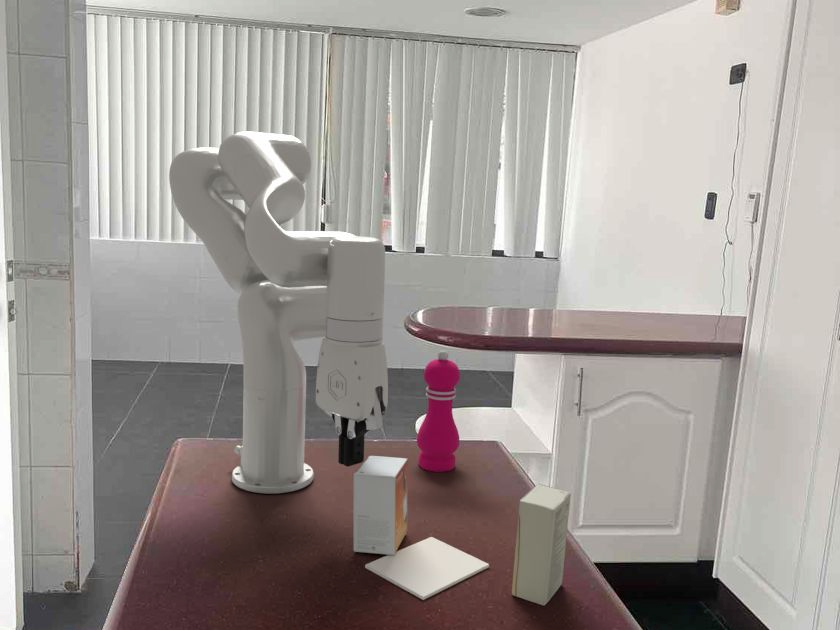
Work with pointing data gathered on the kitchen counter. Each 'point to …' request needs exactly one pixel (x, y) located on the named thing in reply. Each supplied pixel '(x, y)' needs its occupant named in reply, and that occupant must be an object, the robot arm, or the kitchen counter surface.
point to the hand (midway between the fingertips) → (351, 462)
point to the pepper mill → (439, 416)
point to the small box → (380, 505)
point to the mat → (427, 567)
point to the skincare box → (540, 543)
